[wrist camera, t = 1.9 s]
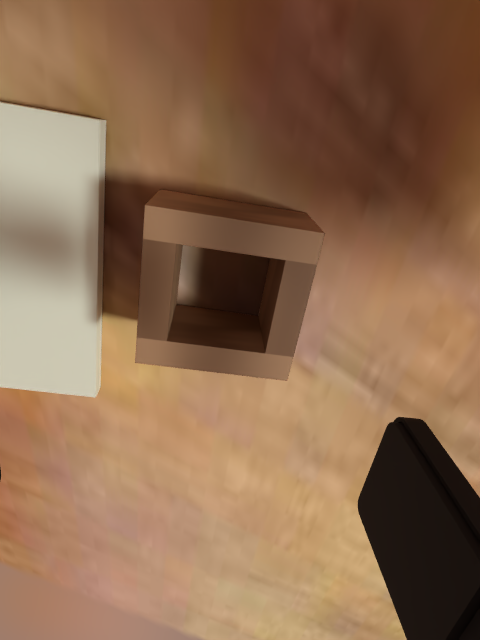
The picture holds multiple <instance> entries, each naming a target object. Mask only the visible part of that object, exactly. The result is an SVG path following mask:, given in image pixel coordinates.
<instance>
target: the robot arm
mask: <svg viewBox="0 0 480 640" xmlns="http://www.w3.org/2000/svg"><path fill="white" fill-rule="evenodd" d="M0 480H1V469H0ZM358 512H359V515H360V518H361V520H362V523H363V525H364V528H365V531H366V533H367V536H368V539H369V541H370V544H371V546H372V549H373V552H374V554H375V557H376V560H377V562H378V565H379V567H380V570H381V573H382V575H383V578H384V580H385V583H386V586H387V588H388V591H389V594H390V596H391V599H392V601H393V604H394V607H395V609H396V612H397V615H398V617H399V620H400V622H401V625H402V628H403V630H404V633H405V636H406V638H407V640H480V498H479V496H478V495H477V493H476V492H475V491H474V489H473V488H472V486H471V485H470V484H469V482H468V481H467V480H466V478H465V477H464V475H463V474H462V473H461V471H460V470H459V468H458V467H457V466H456V464H455V463H454V462H453V460H452V459H451V457H450V456H449V455H448V453H447V452H446V450H445V449H444V448H443V446H442V445H441V444H440V442H439V441H438V439H437V438H436V437H435V435H434V434H433V432H432V431H431V430H430V428H429V427H428V426H427V424H426V423H425V422H424V421H423V420H421V419H415V418H404V417H398V418H396V419H395V420H394V422H391V423H389V424H388V426H387V428H386V430H385V433H384V435H383V438H382V440H381V443H380V445H379V448H378V450H377V453H376V455H375V458H374V461H373V463H372V466H371V468H370V471H369V473H368V476H367V478H366V481H365V483H364V486H363V488H362V491H361V493H360V496H359V499H358Z"/></svg>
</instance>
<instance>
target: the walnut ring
mask: <svg viewBox="0 0 480 640" xmlns="http://www.w3.org/2000/svg"><path fill="white" fill-rule="evenodd" d="M324 235H325V233H324V232H323V231H322V230H321V229H320V227H319V226H318V225H317V224H316V223H315V222H314V221H313V220H312V219H311V218H310V216H309V215H308V214H307V213H303V212H297V211H291V210H285V209H278V208H272V207H266V206H260V205H254V204H248V203H242V202H235V201H229V200H223V199H217V198H211V197H205V196H199V195H192V194H186V193H180V192H174V191H168V190H162V189H160V190H159V191H158V192H157V193H156V194H155V195H154V196H153V197H152V198H151V199H150V200H149V201H148V202H147V203H146V204H145V213H144V229H143V245H142V261H141V277H140V293H139V309H138V325H137V340H136V356H135V363H141V364H149V365H158V366H166V367H175V368H183V369H192V370H200V371H208V372H217V373H225V374H234V375H242V376H251V377H259V378H267V379H276V380H284V381H287V380H288V376H289V372H290V368H291V364H292V360H293V357H294V353H295V349H296V345H297V341H298V337H299V333H300V329H301V325H302V321H303V317H304V314H305V310H306V306H307V302H308V298H309V294H310V290H311V286H312V282H313V278H314V275H315V271H316V267H317V263H318V259H319V255H320V251H321V247H322V243H323V239H324ZM183 245H188V246H194V247H201V248H208V249H215V250H221V251H228V252H235V253H241V254H248V255H255V256H261V257H268V258H270V261H269V266H268V271H267V276H266V281H265V286H264V290H263V295H262V300H261V305H260V310H259V315H250V314H243V313H235V312H228V311H221V310H213V309H206V308H198V307H191V306H183V305H176V303H177V293H178V284H179V274H180V265H181V255H182V246H183Z"/></svg>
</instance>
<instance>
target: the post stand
mask: <svg viewBox="0 0 480 640" xmlns="http://www.w3.org/2000/svg"><path fill="white" fill-rule="evenodd" d="M105 153H106V120H102V119H97V118H91V117H85V116H80V115H74V114H69V113H63V112H57V111H52V110H46V109H40V108H35V107H29V106H24V105H18V104H12V103H7V102H1V101H0V387H5V388H14V389H23V390H32V391H41V392H51V393H60V394H69V395H78V396H87V397H96V396H97V394H98V391H99V389H100V387H101V343H102V295H103V248H104V200H105Z"/></svg>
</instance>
